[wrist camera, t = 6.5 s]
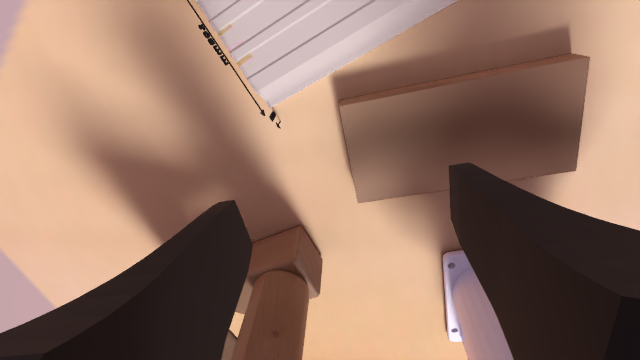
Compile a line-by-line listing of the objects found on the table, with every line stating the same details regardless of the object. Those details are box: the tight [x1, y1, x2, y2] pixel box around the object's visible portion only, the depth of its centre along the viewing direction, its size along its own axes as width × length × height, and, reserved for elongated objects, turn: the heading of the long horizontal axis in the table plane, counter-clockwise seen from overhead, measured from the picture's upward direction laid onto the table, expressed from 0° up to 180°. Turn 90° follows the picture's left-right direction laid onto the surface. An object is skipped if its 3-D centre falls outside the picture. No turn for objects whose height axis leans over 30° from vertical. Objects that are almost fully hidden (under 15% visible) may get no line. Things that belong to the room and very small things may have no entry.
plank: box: [339, 53, 590, 203], centre depth 19 cm, size 6×12×2 cm, turn 103°
